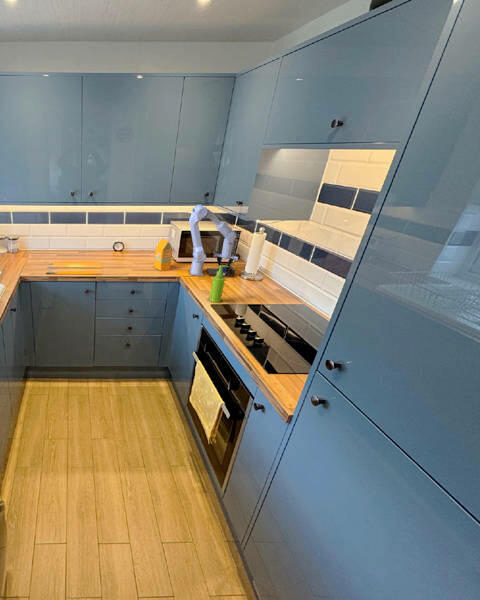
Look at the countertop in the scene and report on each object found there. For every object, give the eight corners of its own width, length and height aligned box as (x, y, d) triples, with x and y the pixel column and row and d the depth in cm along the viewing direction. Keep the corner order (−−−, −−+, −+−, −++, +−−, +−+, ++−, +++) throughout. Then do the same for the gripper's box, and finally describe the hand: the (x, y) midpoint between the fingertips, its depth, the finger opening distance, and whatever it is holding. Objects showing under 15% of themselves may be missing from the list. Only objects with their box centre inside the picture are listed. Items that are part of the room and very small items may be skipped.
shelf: (206, 270, 221) (207, 263, 219) (229, 271, 219) (230, 264, 217) (209, 275, 211) (210, 269, 209) (233, 277, 209) (235, 270, 207)
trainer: (220, 269, 218) (221, 263, 217) (227, 270, 216) (229, 264, 214) (216, 274, 210) (218, 268, 208) (224, 275, 208) (225, 269, 206)
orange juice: (163, 265, 230) (166, 237, 221) (170, 269, 222) (173, 241, 214) (153, 266, 228) (156, 238, 219) (160, 270, 220) (163, 242, 212)
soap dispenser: (224, 301, 177) (231, 266, 168) (213, 303, 175) (220, 268, 166) (217, 297, 182) (224, 263, 173) (206, 298, 180) (213, 264, 172)
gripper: (214, 248, 208) (210, 268, 214) (238, 252, 201) (234, 272, 207) (216, 246, 213) (212, 265, 219) (240, 249, 206) (236, 269, 212)
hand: (223, 268), depth 213 cm, fingers closed on trainer, 4 cm apart
